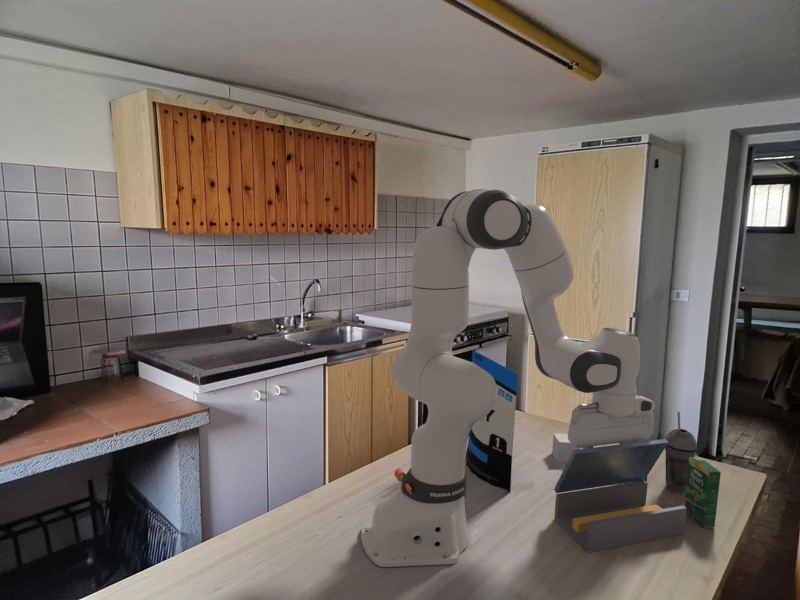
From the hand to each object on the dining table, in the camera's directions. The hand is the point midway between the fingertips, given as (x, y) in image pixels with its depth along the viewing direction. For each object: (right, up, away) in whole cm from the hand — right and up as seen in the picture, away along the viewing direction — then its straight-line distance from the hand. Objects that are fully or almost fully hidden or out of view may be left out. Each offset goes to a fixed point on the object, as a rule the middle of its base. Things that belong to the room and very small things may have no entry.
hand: (608, 460), depth 114 cm
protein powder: (-23, -10, +22) cm, 34 cm away
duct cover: (0, -1, -1) cm, 2 cm away
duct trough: (+1, -14, -3) cm, 14 cm away
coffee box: (+21, -14, +2) cm, 25 cm away
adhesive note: (0, -9, +30) cm, 32 cm away
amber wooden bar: (+1, -14, -3) cm, 14 cm away
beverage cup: (+23, -12, +14) cm, 30 cm away
